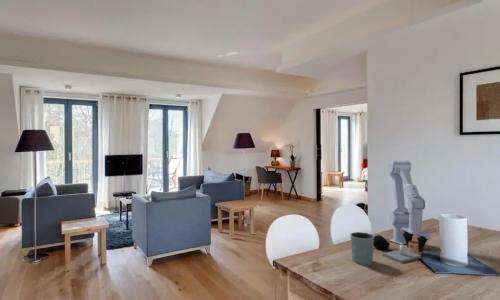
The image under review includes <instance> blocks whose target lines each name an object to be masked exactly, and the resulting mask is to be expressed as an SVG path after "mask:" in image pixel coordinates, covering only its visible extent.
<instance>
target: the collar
mask: <svg viewBox="0 0 500 300" xmlns="http://www.w3.org/2000/svg"><path fill="white" fill-rule="evenodd" d="M418 247H419V245H418V240H416V241H415V240H412V241H409V248H408V247H407V248H408V250H407V251H410V252H413V253H416V254H419V255H422V254H421V253H422V252H419V250H418Z"/></svg>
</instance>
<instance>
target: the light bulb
mask: <svg viewBox="0 0 500 300" xmlns="http://www.w3.org/2000/svg"><path fill="white" fill-rule="evenodd" d="M389 242H390V241H388V240H387V239H386V238H385V237H384V236H382V235H380V234H377V235H375V236H374V244H373V248H376V249H378V250H389V251H390V252H391V251H395V250H398V247H397V246H395V245H393V244H391V243H389Z"/></svg>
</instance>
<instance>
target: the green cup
mask: <svg viewBox="0 0 500 300" xmlns="http://www.w3.org/2000/svg"><path fill="white" fill-rule="evenodd" d="M349 235H350V244H351V247H350V248H351V257H352V259H351V260H352V262H353V263H355V264H358V265H362V266H363V265H364V266H368V265H372V264H373V255H374V246H373V244H374V237H375V236H374V235H373V234H372V233H368V232H362V231H361V232H359V231H358V232H352V233H350V234H349Z"/></svg>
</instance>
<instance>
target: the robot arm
mask: <svg viewBox="0 0 500 300" xmlns="http://www.w3.org/2000/svg"><path fill="white" fill-rule="evenodd" d="M411 169H412V164H411V162H410V161H409V160H390V162H389V164H388V173H389V177H391V178H392V187H393V195H394V196H393V197H394V208H393V209H391V210H390V212H389V213H390V214H389V215H390V216H389V220H390V223H391V225H393V229H392V230H393V232H392V233H393V238H391V239H389V242H392V243H397V244H399V245H406V247H407V248H409V241H413V236H417V238H416V239H417V240H416V241H417V242H418V245H419V247H418V250H419V252H423V251H424V249H425V246H426V244H427V242H428V240H431V239H432V235H431V234H429V233H427V232H424V231H423V210H424V209H425V208H426V201H425V199H424V197H422V195H420V193H419V191H418V188H417V185H416V184H413V180H412V175H411V171H412V170H411ZM405 196H406V198H407V202H406V201H405ZM406 205H407V207H406Z"/></svg>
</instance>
